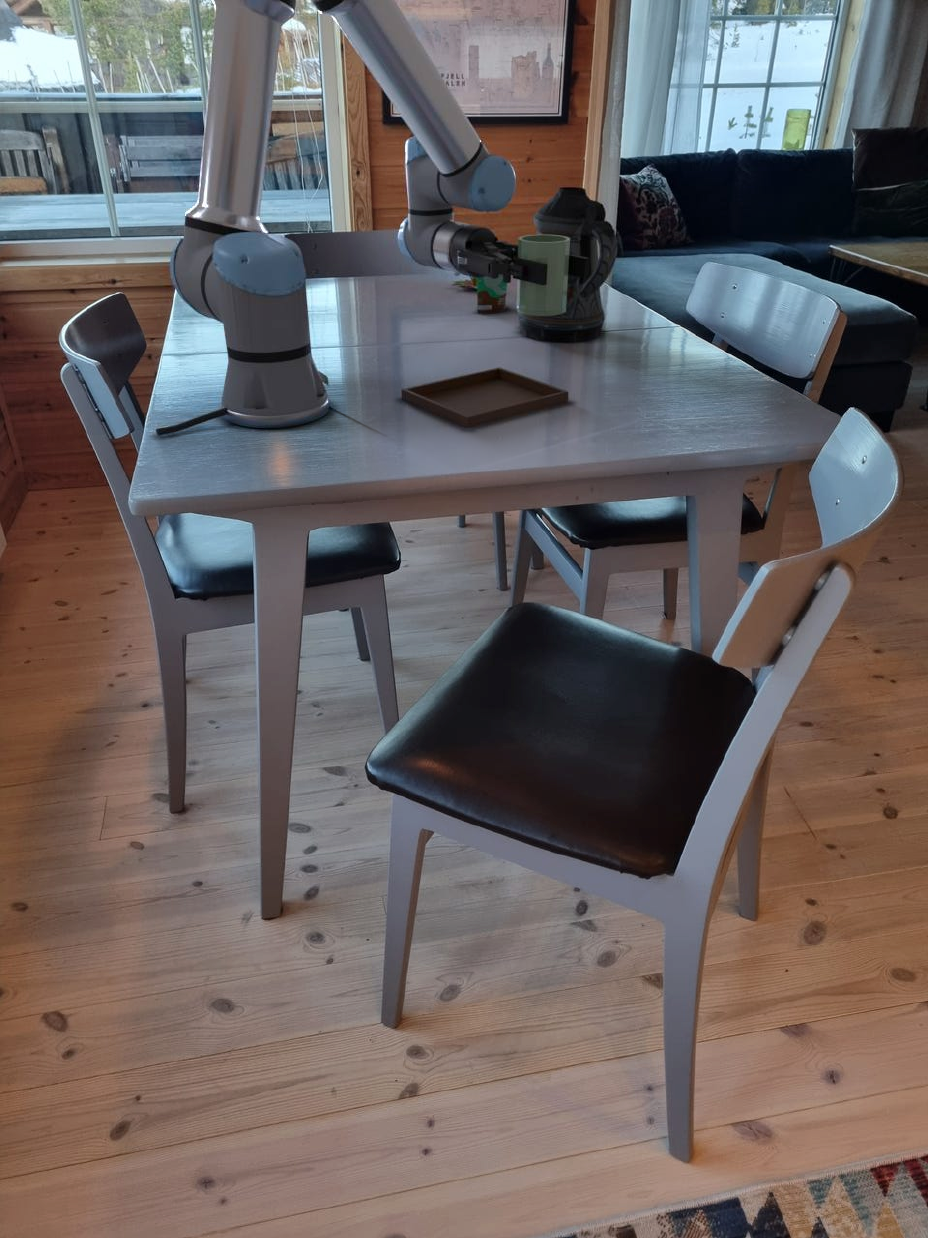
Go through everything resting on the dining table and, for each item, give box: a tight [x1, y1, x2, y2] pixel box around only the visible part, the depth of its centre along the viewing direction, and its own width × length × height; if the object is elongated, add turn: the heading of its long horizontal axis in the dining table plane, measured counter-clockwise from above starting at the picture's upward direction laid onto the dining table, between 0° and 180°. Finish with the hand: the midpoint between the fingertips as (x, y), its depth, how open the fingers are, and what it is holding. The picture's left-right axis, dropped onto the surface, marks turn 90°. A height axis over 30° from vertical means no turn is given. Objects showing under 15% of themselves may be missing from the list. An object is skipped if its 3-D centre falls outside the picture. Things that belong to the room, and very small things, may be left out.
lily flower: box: [450, 276, 477, 290], centre depth 202 cm, size 12×12×5 cm
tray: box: [400, 367, 569, 429], centre depth 131 cm, size 19×16×2 cm
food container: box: [476, 275, 508, 315], centre depth 182 cm, size 12×6×10 cm, turn 168°
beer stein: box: [517, 186, 618, 343], centre depth 161 cm, size 16×19×25 cm
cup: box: [515, 234, 570, 316], centre depth 128 cm, size 7×7×10 cm
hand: (566, 271), depth 124 cm, fingers closed on cup, 7 cm apart
